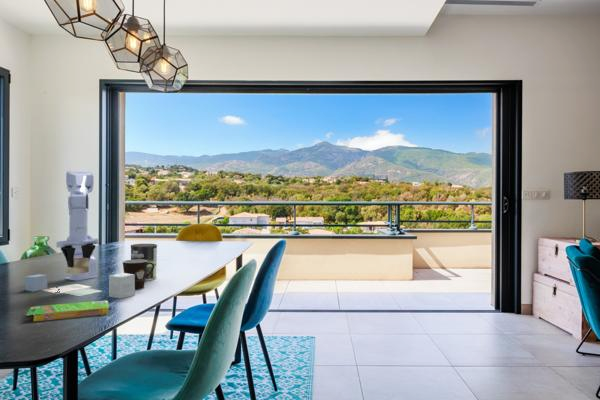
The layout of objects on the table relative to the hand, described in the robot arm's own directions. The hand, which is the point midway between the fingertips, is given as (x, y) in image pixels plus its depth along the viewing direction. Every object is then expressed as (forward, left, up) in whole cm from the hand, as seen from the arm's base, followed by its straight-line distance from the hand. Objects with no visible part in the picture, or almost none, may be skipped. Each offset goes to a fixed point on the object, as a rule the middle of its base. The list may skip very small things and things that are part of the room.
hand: (78, 265), depth 150 cm
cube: (+7, -15, -9) cm, 18 cm away
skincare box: (-4, +19, -9) cm, 21 cm away
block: (0, 0, -2) cm, 2 cm away
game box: (+18, +25, -10) cm, 32 cm away
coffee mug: (-16, +13, -9) cm, 22 cm away
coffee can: (-28, +1, -9) cm, 29 cm away
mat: (0, +3, -9) cm, 10 cm away
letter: (-1, -7, -9) cm, 12 cm away
